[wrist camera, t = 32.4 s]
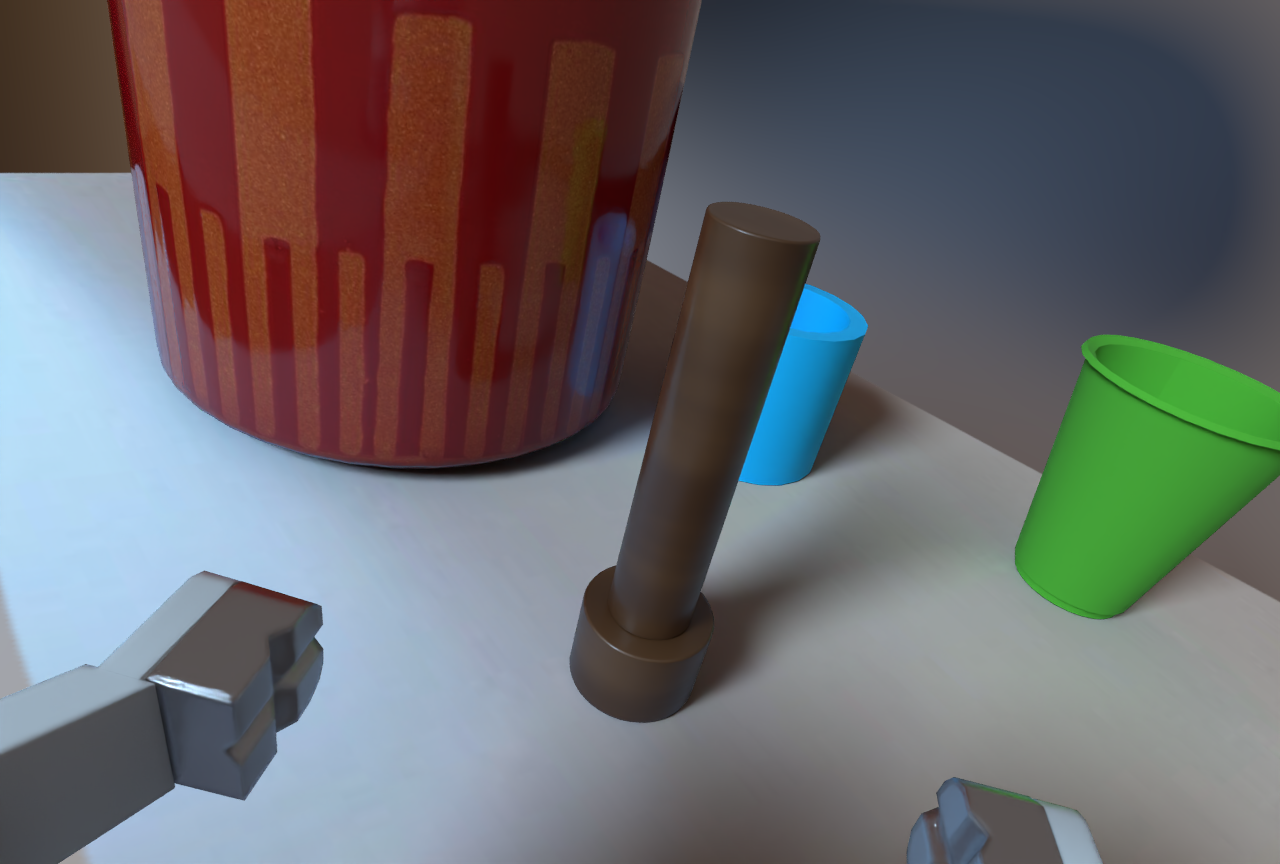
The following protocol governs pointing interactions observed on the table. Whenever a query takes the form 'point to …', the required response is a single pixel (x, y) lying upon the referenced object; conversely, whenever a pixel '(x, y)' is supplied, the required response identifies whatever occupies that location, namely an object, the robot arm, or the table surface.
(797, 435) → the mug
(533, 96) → the planter
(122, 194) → the table surface
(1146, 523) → the cup
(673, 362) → the pestle
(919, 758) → the table surface
